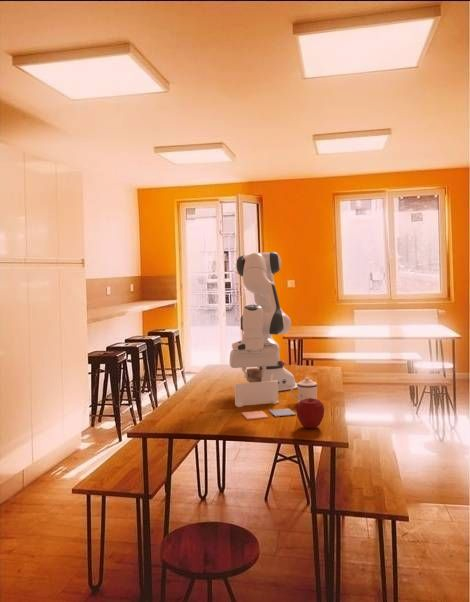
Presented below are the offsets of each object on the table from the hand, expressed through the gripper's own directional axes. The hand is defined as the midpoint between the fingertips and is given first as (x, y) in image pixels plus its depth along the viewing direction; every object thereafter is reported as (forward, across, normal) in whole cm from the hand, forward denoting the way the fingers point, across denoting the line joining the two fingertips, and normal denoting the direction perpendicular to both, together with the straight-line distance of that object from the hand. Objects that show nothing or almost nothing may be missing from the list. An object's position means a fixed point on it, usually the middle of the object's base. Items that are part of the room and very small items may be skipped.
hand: (254, 377), depth 215 cm
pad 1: (+16, 0, 0) cm, 16 cm away
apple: (+17, -16, +22) cm, 32 cm away
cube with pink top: (+2, 0, 0) cm, 2 cm away
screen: (+16, -6, -18) cm, 25 cm away
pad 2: (+16, -12, 0) cm, 20 cm away
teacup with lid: (+17, -27, -13) cm, 34 cm away
